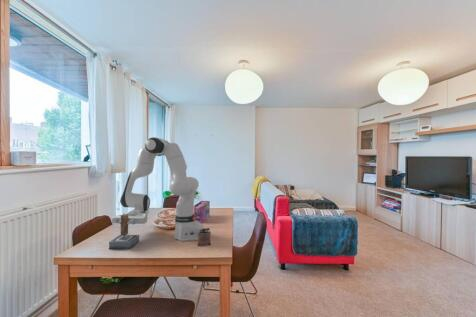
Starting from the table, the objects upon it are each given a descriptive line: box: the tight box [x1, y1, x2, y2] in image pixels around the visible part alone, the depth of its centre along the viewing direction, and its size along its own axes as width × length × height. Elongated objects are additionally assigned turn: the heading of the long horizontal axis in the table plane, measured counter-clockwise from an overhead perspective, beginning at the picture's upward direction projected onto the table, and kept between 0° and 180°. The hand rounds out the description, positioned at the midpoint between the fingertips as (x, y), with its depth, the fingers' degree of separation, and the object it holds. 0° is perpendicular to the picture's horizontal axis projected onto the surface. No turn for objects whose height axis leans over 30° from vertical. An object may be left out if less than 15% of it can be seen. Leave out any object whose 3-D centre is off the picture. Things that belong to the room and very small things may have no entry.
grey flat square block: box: [108, 234, 140, 250], centre depth 138 cm, size 12×12×4 cm
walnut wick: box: [120, 213, 129, 236], centre depth 138 cm, size 2×4×12 cm, turn 1°
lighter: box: [197, 227, 212, 247], centre depth 140 cm, size 8×3×10 cm, turn 114°
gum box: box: [193, 200, 211, 224], centre depth 195 cm, size 24×8×14 cm, turn 173°
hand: (123, 223), depth 137 cm, fingers closed on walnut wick, 2 cm apart
